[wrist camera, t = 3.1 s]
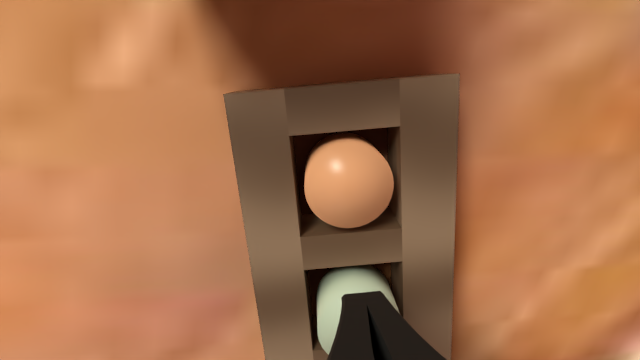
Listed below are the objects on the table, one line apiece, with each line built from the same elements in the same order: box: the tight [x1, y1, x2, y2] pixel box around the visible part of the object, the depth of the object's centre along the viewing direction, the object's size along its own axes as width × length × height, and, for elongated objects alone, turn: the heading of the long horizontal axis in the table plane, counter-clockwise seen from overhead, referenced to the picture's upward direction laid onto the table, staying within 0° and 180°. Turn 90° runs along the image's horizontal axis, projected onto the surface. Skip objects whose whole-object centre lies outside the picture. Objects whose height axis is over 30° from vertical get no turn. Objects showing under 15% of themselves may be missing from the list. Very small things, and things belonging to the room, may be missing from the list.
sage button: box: [316, 264, 400, 355], centre depth 16 cm, size 4×4×2 cm
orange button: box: [304, 133, 394, 228], centre depth 15 cm, size 4×4×2 cm
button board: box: [223, 74, 460, 360], centre depth 17 cm, size 20×9×2 cm, turn 5°
